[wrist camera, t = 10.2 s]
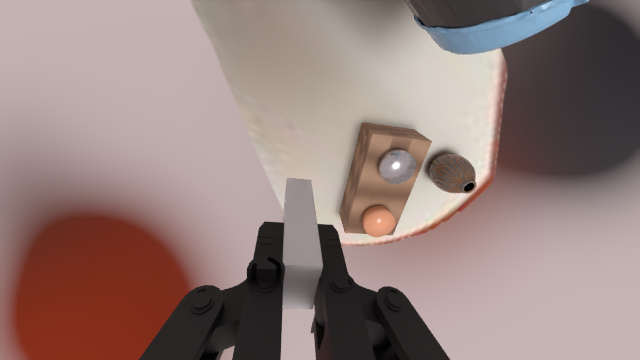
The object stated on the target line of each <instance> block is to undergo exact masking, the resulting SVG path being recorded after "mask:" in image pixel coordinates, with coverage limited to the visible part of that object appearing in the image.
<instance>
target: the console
mask: <svg viewBox="0 0 640 360" xmlns="http://www.w3.org/2000/svg"><path fill="white" fill-rule="evenodd" d="M431 142H432V141H430V140H429V139H427V138H426V137H424V136H423V135H421V134H420V133H418V132H417V131H415V130H412V129H404V128H397V127H390V126H383V125H375V124H368V123H362V126H361V130H360V134H359V138H358V142H357V146H356V150H355V154H354V158H353V162H352V166H351V170H350V174H349V178H348V182H347V186H346V190H345V194H344V198H343V202H342V206H341V209H340V213H339V214H340V217H341V221H342V224H343V228H344V231H345V233H360V234H367V233H366V231H365V229H364V226H363V224H362V217H363V215H364V213H365V212H366V211H367V210H368V209H370V208H372V207H375V206H384V207H386V208H388V209H389V210H390V212H391V213H392V215H393V217H394V218H395V226H394V228H393V230H392V231H391V232H390V233H388V234H386V235H393V233H394V231H395V229H396V226H397V224H398V221H399V219H400V217H401V214H402V212H403V209H404V207H405V205H406V202H407V200H408V197H409V195H410V193H411V190H412V188H413V185H414V183H415V181H416V178H417V176H418V173H419V171H420V169H421V166H422V164H423V161H424V159H425V157H426V154H427V152H428V149H429V147H430V145H431ZM392 148H402V149H405V150H406V151H407V152H408V153H410V154H411V155H412V156H413V157H414V159H415V161H416V169H415V172H414V174H413V175H412V176H411V177H410V178H409V179H408V180H407V181H405V182H403V183H400V184H390V183H387V182H386V181H385V180H384V179H383V178H382V176H381V175H380V173H379V172H378V168H377V164H378V161H379V158H380V157H381V156H382V154H383V153H385V152H386V151H387V150H389V149H392Z"/></svg>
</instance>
